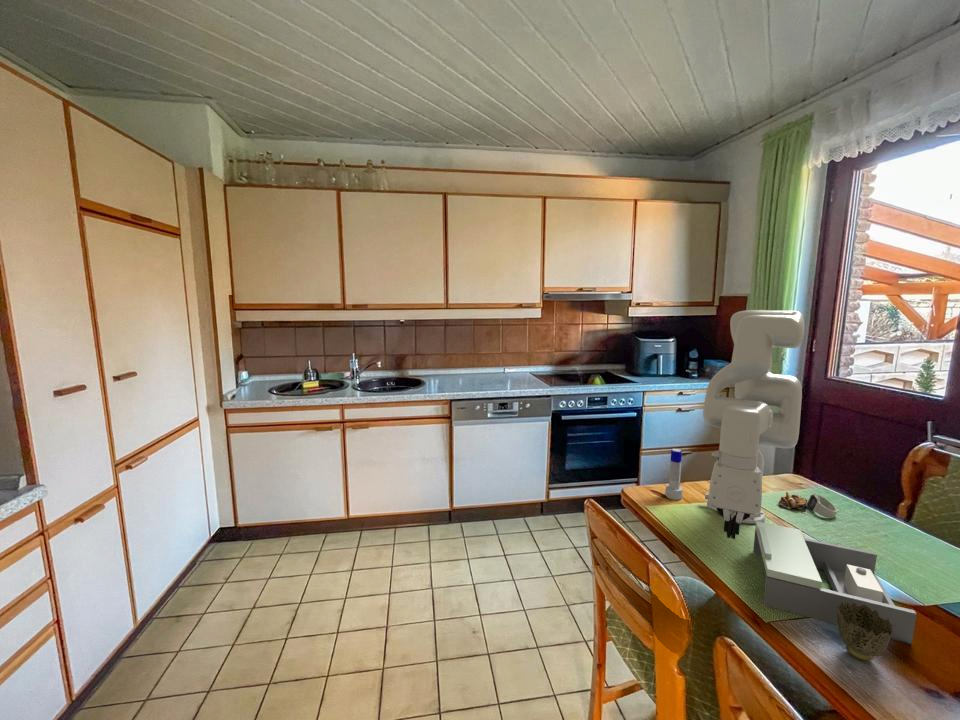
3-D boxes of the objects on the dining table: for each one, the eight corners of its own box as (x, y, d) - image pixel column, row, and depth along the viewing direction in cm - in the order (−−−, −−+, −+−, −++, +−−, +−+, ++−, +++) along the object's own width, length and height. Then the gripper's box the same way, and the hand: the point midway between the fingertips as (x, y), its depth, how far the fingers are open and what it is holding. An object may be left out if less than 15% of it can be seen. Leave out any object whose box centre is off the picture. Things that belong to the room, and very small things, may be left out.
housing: (763, 604, 90) (766, 577, 89) (753, 551, 108) (755, 528, 107) (911, 644, 79) (916, 613, 78) (871, 577, 98) (875, 552, 97)
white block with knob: (854, 608, 88) (857, 583, 87) (843, 584, 95) (846, 562, 94) (880, 614, 86) (883, 589, 85) (867, 590, 93) (870, 567, 92)
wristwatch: (802, 503, 133) (804, 488, 132) (826, 505, 131) (828, 490, 131) (816, 518, 124) (818, 501, 123) (842, 520, 123) (844, 504, 122)
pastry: (809, 500, 135) (810, 490, 134) (805, 515, 126) (807, 504, 126) (782, 494, 140) (783, 483, 139) (777, 508, 131) (778, 497, 130)
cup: (821, 640, 80) (826, 602, 79) (857, 637, 81) (863, 599, 80) (859, 675, 73) (865, 633, 72) (899, 672, 74) (905, 630, 72)
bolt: (683, 501, 135) (666, 499, 136) (680, 494, 139) (664, 492, 141) (686, 453, 132) (669, 452, 134) (683, 448, 137) (666, 446, 138)
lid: (766, 576, 89) (768, 564, 88) (755, 527, 107) (756, 517, 107) (821, 589, 85) (822, 577, 84) (799, 536, 103) (800, 526, 103)
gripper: (700, 459, 97) (694, 535, 100) (779, 471, 91) (771, 552, 93) (700, 449, 104) (695, 521, 106) (774, 460, 97) (766, 536, 100)
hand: (730, 535), depth 100 cm, fingers closed
